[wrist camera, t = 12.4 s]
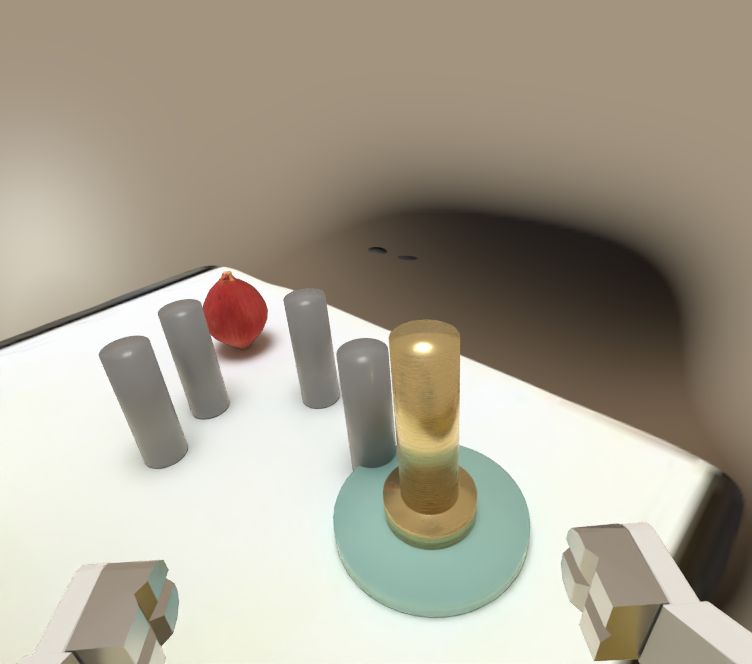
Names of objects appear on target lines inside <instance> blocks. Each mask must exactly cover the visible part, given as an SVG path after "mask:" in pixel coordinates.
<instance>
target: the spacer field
mask: <svg viewBox="0 0 752 664" xmlns="http://www.w3.org/2000/svg"><path fill="white" fill-rule="evenodd" d="M284 306H285V311H286V316H287V321H288V326H289V331H290V336H291V342H292V347H293V352H294V357H295V362H296V367H297V373H298V378H299V383H300V388H301V393H302V398H303V402H304V404H305V405H306V406H308V407H311V408H325V407H328V406H331V405H332V404H334V403H335V402H336V401H337V400H338V399H339V396H340V393H339V387H338V380H337V373H336V366H335V359H334V352H333V345H332V338H331V331H330V325H329V318H328V311H327V304H326V297H325V293H324V292H323V291H322V290H319V289H315V288H305V289H299V290H296V291H293V292H291V293H289V294H287V295H286V296H285V297H284ZM158 316H159V319H160V322H161V325H162V328H163V330H164V333H165V336H166V339H167V342H168V345H169V348H170V351H171V354H172V357H173V360H174V362H175V365H176V368H177V371H178V374H179V377H180V380H181V383H182V386H183V389H184V392H185V395H186V397H187V400H188V403H189V406H190V409H191V412H192V415H193V416H194V417H196V418H199V419H209V418H213V417H216V416H218V415H220V414H222V413H223V412H224V411H225V410H226V409H227V408H228V407H229V404H230V402H229V398H228V395H227V391H226V388H225V384H224V381H223V377H222V374H221V371H220V367H219V364H218V360H217V357H216V353H215V350H214V346H213V343H212V339H211V336H210V332H209V329H208V326H207V322H206V319H205V315H204V312H203V308H202V305H201V302H200V301H198V300H194V299H185V300H179V301H175V302H172V303H170V304H167V305H165V306H164V307H162V308H161V309H160V310H159V312H158ZM99 358H100V360H101V362H102V364H103V367H104V369H105V371H106V374H107V376H108V378H109V381H110V383H111V385H112V388H113V390H114V392H115V394H116V397H117V399H118V401H119V404H120V406H121V408H122V411H123V413H124V415H125V418H126V420H127V422H128V425H129V427H130V429H131V431H132V434H133V436H134V438H135V441H136V443H137V445H138V448H139V450H140V452H141V455H142V457H143V459H144V461H145V464H146V465H147V466H148V467H151V468H164V467H168V466H171V465H173V464H175V463H176V462H178V461H179V460H180V459H182V458H183V457H184V455H185V454H186V452H187V450H188V445H187V442H186V439H185V437H184V434H183V431H182V428H181V426H180V423H179V420H178V417H177V415H176V412H175V409H174V406H173V404H172V401H171V398H170V395H169V393H168V390H167V387H166V384H165V382H164V379H163V376H162V373H161V371H160V368H159V365H158V362H157V360H156V357H155V354H154V351H153V349H152V346H151V343H150V340H149V339H148V338H147V337H144V336H130V337H125V338H121V339H118V340H116V341H113V342H111V343H110V344H108V345H106V346H105V347H104V348H103V349H102V350H101V351H100V353H99ZM337 362H338V369H339V376H340V383H341V390H342V397H343V404H344V411H345V418H346V425H347V432H348V439H349V446H350V453H351V460H352V467H353V471H354V470H355V469H356V468H357V467H358V466H362V467H365V468H378V467H381V466H384V465H386V464H388V463H389V462H390V461H391V460H392V459H393V458H394V456H395V454H396V444H395V431H394V418H393V406H392V393H391V380H390V367H389V355H388V347H387V346H386V344H385V343H383V342H382V341H379V340H376V339H371V338H361V339H355V340H352V341H349V342H347V343H345V344H343V345H342V346H341V347H340V348H339V349H338V350H337Z"/></svg>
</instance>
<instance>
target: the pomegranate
mask: <svg viewBox="0 0 752 664" xmlns="http://www.w3.org/2000/svg"><path fill="white" fill-rule="evenodd" d="M203 312H204V315H205V319H206V322H207V326H208V329H209V332H210V334H211V336H213V337H214V338H215V339H216V340H218V341H220V342H223V343H225V344H227V345H231V346H234V347H237V348H239V349H245V348H247V347H249V346H250V345H251V343H252V342H253V341H254V340H255V338H256V337H257V336H258V335H259V334H260V333H261V332H262V330H263V328H264V326H265V323H266V321H267V313H268V309H267V306H266V303H265V301H264V299H263V298H262V296H261V295H260V293H259V292H258V291H257V290H256V289H255V288H254V287H253V286H252V285H250V284H248V283H247V282H244V281H242V280H240V279H236V278H235V277H234V276H233V275H232V273H231V272H230V271H226V272H223V274H222V277H221V278H220V279H219V281H218V282H217V283H216V284H215V285H214V286H213V287H212V288H211V289H210V290H209V293H208V295H207V297H206V299H205V302H204V304H203Z"/></svg>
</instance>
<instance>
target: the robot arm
mask: <svg viewBox="0 0 752 664" xmlns="http://www.w3.org/2000/svg"><path fill="white" fill-rule="evenodd" d="M566 540H567V542H568V545H569V547H570V548H569V549H567V550H566V551H565V552H564V553H563V556H562V561H561V569H562V578H563V582H564V586H565V589H566V592H567V595H568V597H569V600H570V602H571V603H572V604H573V605H574V606H575V607H577V608H578V609H579V610H580V611H581V612H582V617H581V621H580V624H579V625H580V628H581V630H582V633H583V635H584V638H585V640H586V643H587V645H588V648H589V650H590V653H591V655H592V658H593V660H594V661H606V660H626V659H639V661H638V662H639V663H640V664H752V633H751V632H749V631H748V630H746V629H745V628H744V627H742V626H741V625H740V624H738V623H737V622H735V621H734V620H733V619H731V618H730V617H729V616H727V615H726V614H724V613H723V612H722V611H720V610H719V609H718V608H716V607H715V606H713V605H712V604H711V603H709V602H700V601H699V599H698V598H697V596H696V595H695V593H694V591H693V590H692V588H691V587H690V585H689V583H688V582H687V580H686V579H685V577H684V576H683V574H682V572H681V571H680V569H679V568H678V566H677V565H676V563H675V561H674V560H673V558H672V557H671V555H670V554H669V552H668V550H667V549H666V547H665V546H664V544H663V542H662V541H661V539H660V538H659V536H658V535H657V533H656V531H655V530H654V528H653V527H652V526H651V525H649V524H648V523H646V522H638V523H628V524H608V525H598V526H587V527H576V528H571V529H570V530H569V531H568V534H567V538H566ZM167 572H168V568H167V566H166V564H165V562H164V560H153V561H137V562H121V563H102V564H89V565H82V566H81V567H80V569H79V570H78V571H77V572H76V573H75V574H74V576H73V578H72V580H71V581H70V583H69V585H68V587H67V589H66V591H65V593H64V595H63V597H62V599H61V601H60V603H59V605H58V607H57V609H56V611H55V613H54V615H53V617H52V619H51V621H50V623H49V625H48V626H47V628H46V630H45V632H44V634H43V636H42V638H41V640H40V642H39V644H38V646H37V648H36V650H35V652H34V654H33V655H26V656H24V657H23V658H22V659H21V660H20V661H19V662H17V663H16V664H164V663H165V659H166V657H165V654H164V652H163V649H162V645H163V644H164V643H165V642H166V641H167V639H168V638H169V637H170V636H171V635H172V634H173V632H174V628H175V624H176V621H177V616H178V606H179V598H178V591H177V588H176V586H175V584H174V583H173V582H171V581H170V580H168V579H166V576H167Z"/></svg>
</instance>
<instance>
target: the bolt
mask: <svg viewBox="0 0 752 664" xmlns="http://www.w3.org/2000/svg"><path fill="white" fill-rule="evenodd" d="M389 347H390V360H391V373H392V387H393V400H394V413H395V426H396V439H397V452H398V465H399V466H398V467H396V468H395V469H394V470H393V471H392V472H391V473H390V474H389V476H388V477H387V479H386V481H385V483H384V487H383V503H384V513H385V519H386V522H387V525H388V527H389V529H390V530H391V531H392V533H393V534H394V535H395V536H396V537H397V538H398V539H400V540H401V541H402V542H404V543H406V544H408V545H410V546H412V547H415V548H419V549H424V550H440V549H445V548H449V547H451V546H454V545H456V544H458V543H459V542H461V541H462V540H463V539H465V538H466V537H467V536H468V535H469V533H470V532H471V531H472V529H473V527H474V525H475V522H476V516H477V489H476V485H475V483H474V481H473V479H472V477H471V476H470V475H469V473H468V472H467V471H466V470H464V469H463V468H462V467H460V466H459V393H460V334H459V332H458V331H457V329H456V328H455V327H453V326H452V325H450V324H447V323H445V322H442V321H436V320H416V321H410V322H407V323H404V324H402V325H400V326H398V327H396V328H395V329H394V330H393V331H392V332H391V333H390V335H389Z"/></svg>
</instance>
